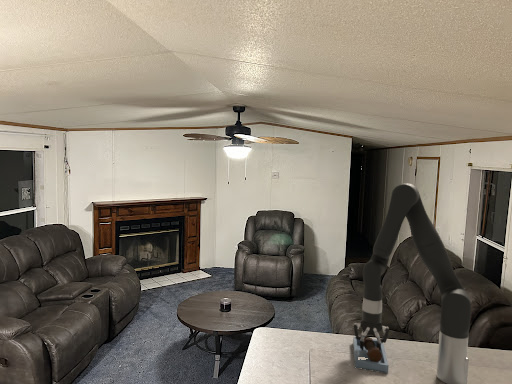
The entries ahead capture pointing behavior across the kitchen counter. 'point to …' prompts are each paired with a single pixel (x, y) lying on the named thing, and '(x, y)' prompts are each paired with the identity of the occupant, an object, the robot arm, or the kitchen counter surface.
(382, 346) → the parts tray
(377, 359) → the bolt
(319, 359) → the kitchen counter surface
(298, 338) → the kitchen counter surface
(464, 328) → the robot arm
